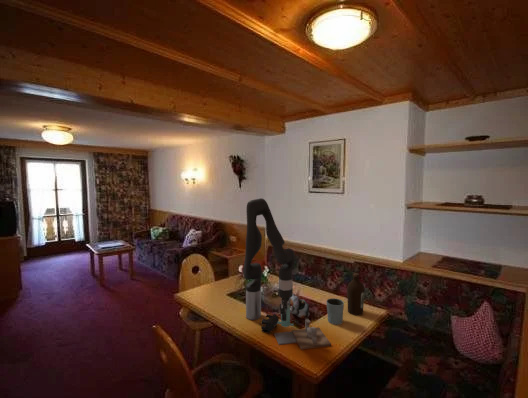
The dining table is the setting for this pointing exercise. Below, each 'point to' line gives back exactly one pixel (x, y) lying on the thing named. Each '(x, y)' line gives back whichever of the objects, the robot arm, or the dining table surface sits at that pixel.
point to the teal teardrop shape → (287, 322)
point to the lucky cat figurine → (299, 307)
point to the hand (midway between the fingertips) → (285, 318)
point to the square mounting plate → (310, 337)
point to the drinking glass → (335, 311)
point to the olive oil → (355, 296)
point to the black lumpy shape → (269, 323)
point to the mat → (285, 338)
